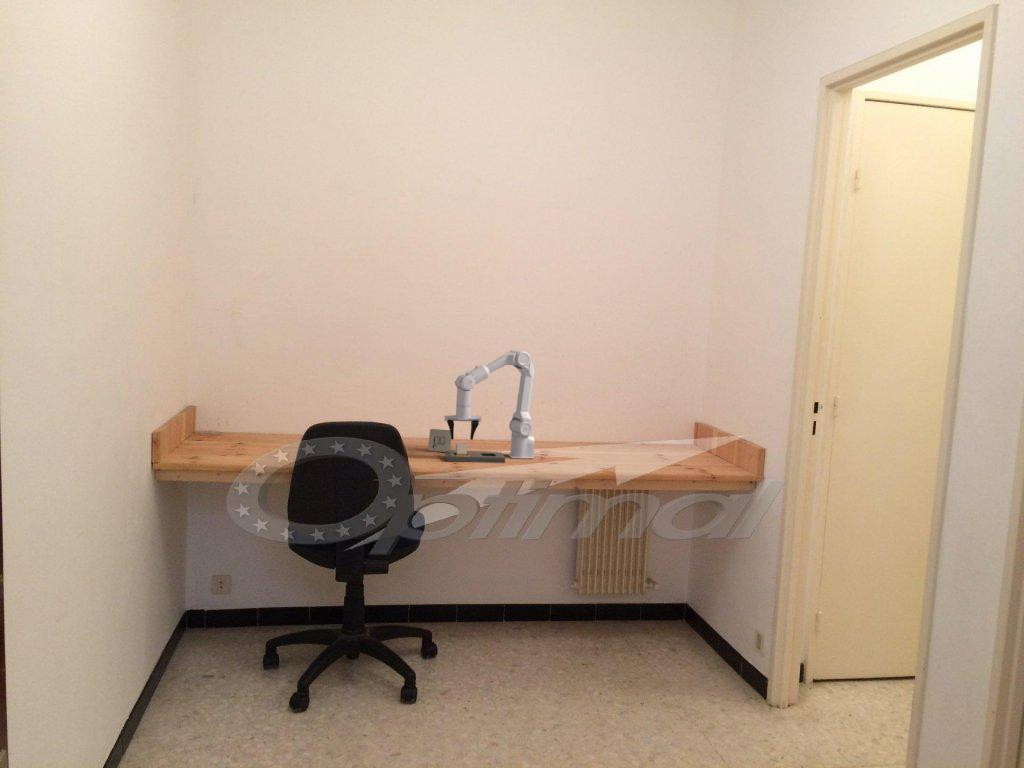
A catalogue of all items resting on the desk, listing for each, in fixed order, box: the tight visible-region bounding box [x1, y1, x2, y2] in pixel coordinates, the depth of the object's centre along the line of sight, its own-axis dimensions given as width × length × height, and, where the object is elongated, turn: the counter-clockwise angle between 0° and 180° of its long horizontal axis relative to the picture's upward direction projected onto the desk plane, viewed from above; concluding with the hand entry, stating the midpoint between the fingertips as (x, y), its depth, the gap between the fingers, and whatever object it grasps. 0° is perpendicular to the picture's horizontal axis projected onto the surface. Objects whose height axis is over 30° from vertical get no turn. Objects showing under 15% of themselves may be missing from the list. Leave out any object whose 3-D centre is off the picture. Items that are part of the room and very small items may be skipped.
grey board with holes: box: [444, 451, 506, 464], centre depth 315 cm, size 23×10×2 cm, turn 101°
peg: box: [455, 443, 468, 455], centre depth 314 cm, size 4×4×6 cm
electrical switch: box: [427, 428, 452, 453], centre depth 328 cm, size 9×5×9 cm, turn 85°
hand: (461, 439), depth 313 cm, fingers open, 7 cm apart
